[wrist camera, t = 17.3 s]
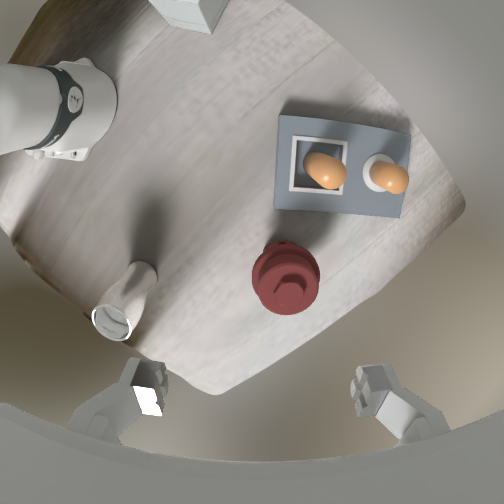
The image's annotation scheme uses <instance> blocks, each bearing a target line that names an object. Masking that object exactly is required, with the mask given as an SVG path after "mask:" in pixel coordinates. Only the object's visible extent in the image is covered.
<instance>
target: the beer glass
mask: <svg viewBox="0 0 504 504" xmlns="http://www.w3.org/2000/svg"><path fill="white" fill-rule="evenodd" d="M156 283H157V274H156V271H155V270H154V268H153V267H152V266H151V265H150V264H148V263H146V262H144V261H135V262H133V263H131V264H130V265H129V267H128V269H127V271H126V274H125V275H124V276H123V277H122V278H121V279H119V280H118V281H117V282H115V283H114V284H113V285H112V286H110V287H109V288H108V289H107V290H106V292H105V293H104V294H103V295H102V297H101V298H100V300H99V301H98V303H97V305H96V307H95V308H94V309H93V311H92V321H93V324H94V326H95V327H96V329H97V330H98V331H99V332H100V333H101V334H102V335H103V336H105V337H107V338H108V339H111V340H115V341H123V340H125V339H127V338H128V337H129V336H130V334H131V332H132V331H133V330H134V328H135V327H136V325H137V323H138V322H139V320H140V318H141V316H142V314H143V311H144V307H145V303H146V299H147V295H148V293H149V291H150V290H151V289H153V288H154V286H155V285H156Z"/></svg>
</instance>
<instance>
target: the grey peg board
mask: <svg viewBox="0 0 504 504" xmlns="http://www.w3.org/2000/svg"><path fill="white" fill-rule="evenodd" d="M410 141H411V135H409V134H405V133H401V132H396V131H391V130H387V129H382V128H377V127H371V126H366V125H360V124H354V123H347V122H341V121H334V120H326V119H318V118H309V117H299V116H288V115H279V116H278V135H277V153H276V170H275V186H274V202H273V205H274V208H275V209H285V210H302V211H318V212H332V213H345V214H358V215H369V216H380V217H391V218H400V214H401V209H402V203H403V197H404V191H405V189H406V188H407V186H408V183H409V176H408V173H407V169H408V161H409V152H410ZM312 151H318V152H321V153H324V154H326V155H329V156H331V157H334V158H336V159H338V160H340V161H341V162H342V163H343V164H344V165H345V167H346V170H347V177H346V180H345V182H344V183H343V185H342V186H340V187H339V188H337V189H326V188H324V187H323V186H321V185H320V184H319V183H318V182H317V181H315V180H314V179H313V178H312V177H311V176H309V175H308V174H307V173H306V172H305V171H304V169H303V159H304V157H305V156H306V155H307V154H308V153H309V152H312Z"/></svg>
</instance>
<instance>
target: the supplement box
mask: <svg viewBox="0 0 504 504" xmlns="http://www.w3.org/2000/svg"><path fill="white" fill-rule="evenodd" d="M228 1H229V0H149V2H150V3H151V4H152V5H153V6H154V7H155V8H156V9H157V10H158V11H159V13H160V14H161V15H162V16H163V17H164V18H165V19H166V20H167V22H168V23H169V24H170V25H171V26H174V27H179V28H184V29H189V30H193V31H198V32H203V33H207V34H212V32H213V30H214V28H215V26H216V24H217V22H218V20H219V18H220V16H221V14H222V12H223V11H224V9H225V7H226V5H227V3H228Z"/></svg>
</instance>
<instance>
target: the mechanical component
mask: <svg viewBox="0 0 504 504" xmlns="http://www.w3.org/2000/svg"><path fill="white" fill-rule="evenodd" d="M319 281H320V271H319V267H318V264H317V262H316V260H315V258H314V257H313V255H312V254H311V253H310V252H309V251H307V250H306V249H304V248H302V247H300V246H297V245H296V244H294V243H292V242H289V241H277V242H274V243H272V244H270V245H269V246H268V247H265V248H264V250H263V253H262V254H261V255H260V256H259V257H258V259H257V260H256V262H255V264H254V266H253V270H252V285H253V288H254V291H255V292H256V294H257V295H258V297H259V298H260V301H261V302H262V304H263V305H264V306H265V307H266V308H267V309H268V310H270V311H271V312H274V313H276V314H280V315H292V314H296V313H299V312H302V311H304V310H305V309H307V308H308V307H309V306H310V305H311V304H312V303H313V302H314V300H315V299H316V297H317V294H318V289H319Z"/></svg>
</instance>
